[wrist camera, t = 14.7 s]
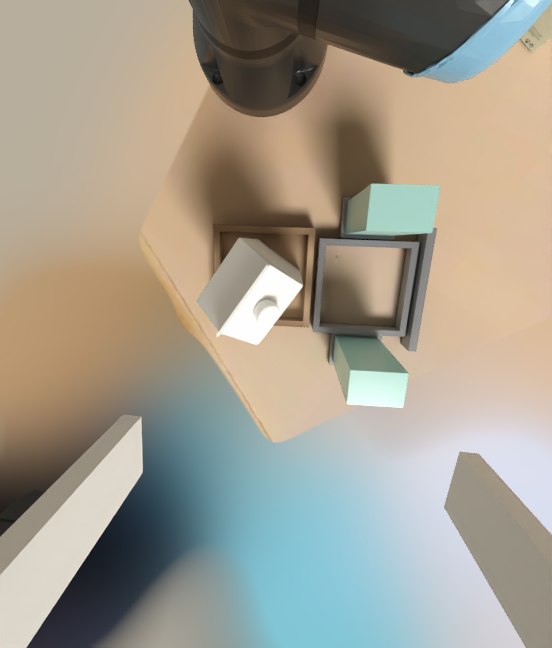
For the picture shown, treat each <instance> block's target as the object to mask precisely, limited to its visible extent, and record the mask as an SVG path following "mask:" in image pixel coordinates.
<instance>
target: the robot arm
mask: <svg viewBox="0 0 552 648" xmlns="http://www.w3.org/2000/svg"><path fill="white" fill-rule="evenodd" d="M189 2H190V4H191V6H192V8H193V36H194V43H195V49H196V53H197V56H198V60H199V62H200V65H201V67H202V70H203V72H204V74H205V76H206V78H207V80H208V81H209V83H210V85H211V87H212V88H213V90H214V91H215V93H216V94H217V95H218V96H219V97H220V98H221V99H222V100H223V101H224V102H225V103H226V104H227V105H229V106H230V107H231V108H233V109H235V110H236V111H238V112H241V113H243V114H246V115H250V116H255V117H268V116H274V115H278V114H280V113H283V112H285V111H287V110H289V109H291V108H292V107H294V106H295V105H297V104H298V103H299V102H300V101H301V100H302V99H304V97H305V96H306V95H307V94H308V93H309V92H310V90H311V89H312V88H313V86H314V84H315V83H316V81H317V79H318V77H319V75H320V73H321V70H322V67H323V64H324V61H325V56H326V51H327V45H331V46H334V47H337V48H340V49H343V50H346V51H349V52H352V53H355V54H358V55H361V56H364V57H367V58H370V59H373V60H376V61H379V62H381V63H384V64H387V65H390V66H393V67H396V68H399V69H402V70H403V72H404V73H405V74H406V75H408V76H410V77H422V76H423V77H427V78H430V79H434V80H438V81H441V82H445V83H456V82H459V81H464V80H467V79H470V78H473V77H474V76H476V75H478V74H479V73H481V72H483V71H484V70H486V69H487V68H488V67H490V66H491V65H492V64H493V63H495V62H496V61H497V60H498V59H499V58H501V57H502V56H503V55H504V54H505V53H506V52H507V51H508V50H509V49H510V48H511V47H512V46H513V45H514V44H515V43H516V42H517V41H518V40H519V39H520V38H521V37H522V36H523V35H524V34H525V33H526V32H527V31H528V30H529V29H530V27H531V26H532V25H533V24H534V23H535V22H536V21H537V19H538V18H539V17H540V16H541V15H542V14H543V13H544V11H545V10H546V9H547V8H548V7H549V5H550V4H551V3H552V0H189ZM142 472H143V462H142V425H141V417H139V416H130V415H123V416H122V417H121V418H120V419H119V420H118V421H117V422H116V423H115V424H114V425H113V426H112V427H111V428H109V430H108V431H106V433H104V434H103V435H102V437H100V438H99V440H98V441H96V442H95V443H94V444H93V445H92V446H91V447H90V448H89V449H88V450H87V451H86V452H85V454H83V455H82V456H81V457H80V458H79V459H78V460H77V461H76V462H75V463H74V464H73V465H72V466H71V467H70V468H69V469H68V470H67V471H66V472H65V473H64V474H63V475H62V476H61V477H60V478H59V479H58V480H57V481H56V482H55V483H54V484H53V485H52V486H51V487H50V488H49V489H48V490H47V491H40V490H33V491H31V492H30V493H28V494H26V495H25V496H23V497H21V498H20V499H18V500H17V501H15V502H13V503H12V504H11V505H10V506H9V507H8V508H7V509H6V510H4V511H3V512H2V513H1V514H0V648H26V647H27V646H28V644H29V643H30V641H31V640H32V638H33V636H34V635H35V633H36V632H37V631H38V629H39V628H40V626H41V625H42V623H43V622H44V620H45V619H46V617H47V615H48V614H49V613H50V611H51V609H52V608H53V607H54V605H55V604H56V602H57V601H58V599H59V597H60V596H61V594H62V593H63V592H64V590H65V588H66V587H67V585H68V584H69V582H70V581H71V579H72V578H73V576H74V575H75V573H76V572H77V570H78V569H79V567H80V566H81V564H82V563H83V561H84V560H85V558H86V557H87V555H88V554H89V552H90V551H91V549H92V548H93V546H94V545H95V543H96V542H97V540H98V539H99V537H100V536H101V534H102V533H103V531H104V530H105V528H106V527H107V525H108V524H109V522H110V521H111V519H112V518H113V516H114V515H115V513H116V512H117V510H118V509H119V507H120V506H121V504H122V503H123V501H124V500H125V498H126V497H127V495H128V494H129V492H130V491H131V489H132V488H133V486H134V485H135V483H136V482H137V480H138V479H139V477H140V476H141V474H142ZM444 508H445V509H446V511H447V513H448V515H449V516H450V518H451V520H452V522H453V523H454V525H455V526H456V528H457V530H458V532H459V534H460V535H461V537H462V538H463V540H464V542H465V544H466V545H467V547H468V549H469V550H470V552H471V554H472V556H473V558H474V559H475V561H476V563H477V564H478V566H479V568H480V570H481V571H482V573H483V575H484V576H485V578H486V580H487V582H488V583H489V585H490V587H491V589H492V590H493V592H494V593H495V595H496V597H497V599H498V600H499V602H500V604H501V606H502V607H503V609H504V611H505V613H506V614H507V616H508V618H509V619H510V621H511V623H512V625H513V626H514V628H515V630H516V631H517V633H518V635H519V637H520V638H521V640H522V642H523V643H524V645H525V647H526V648H552V535H551V534H550V532H549V531H548V530H547V529H546V528H545V527H544V526H543V525H542V524H541V522H540V521H539V520H538V519H537V518H536V517H535V516H534V515H533V514H532V512H530V510H529V509H528V508H527V507H526V506H525V505H524V504H523V502H522V501H521V500H520V499H519V498H518V497H517V496H516V495H515V494H514V493H513V491H512V490H511V489H510V488H509V487H508V486H507V485H506V484H505V482H504V481H503V480H502V479H501V478H500V477H499V476H498V475H497V474H496V473H495V471H494V470H493V469H492V468H491V467H490V466H489V465H488V464H487V462H486V461H485V460H484V459H483V458H482V457H481V456H480V455H479V454H475V453H465V452H460V453H459V456H458V460H457V463H456V467H455V470H454V474H453V477H452V481H451V484H450V488H449V492H448V495H447V498H446V502H445V506H444Z"/></svg>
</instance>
